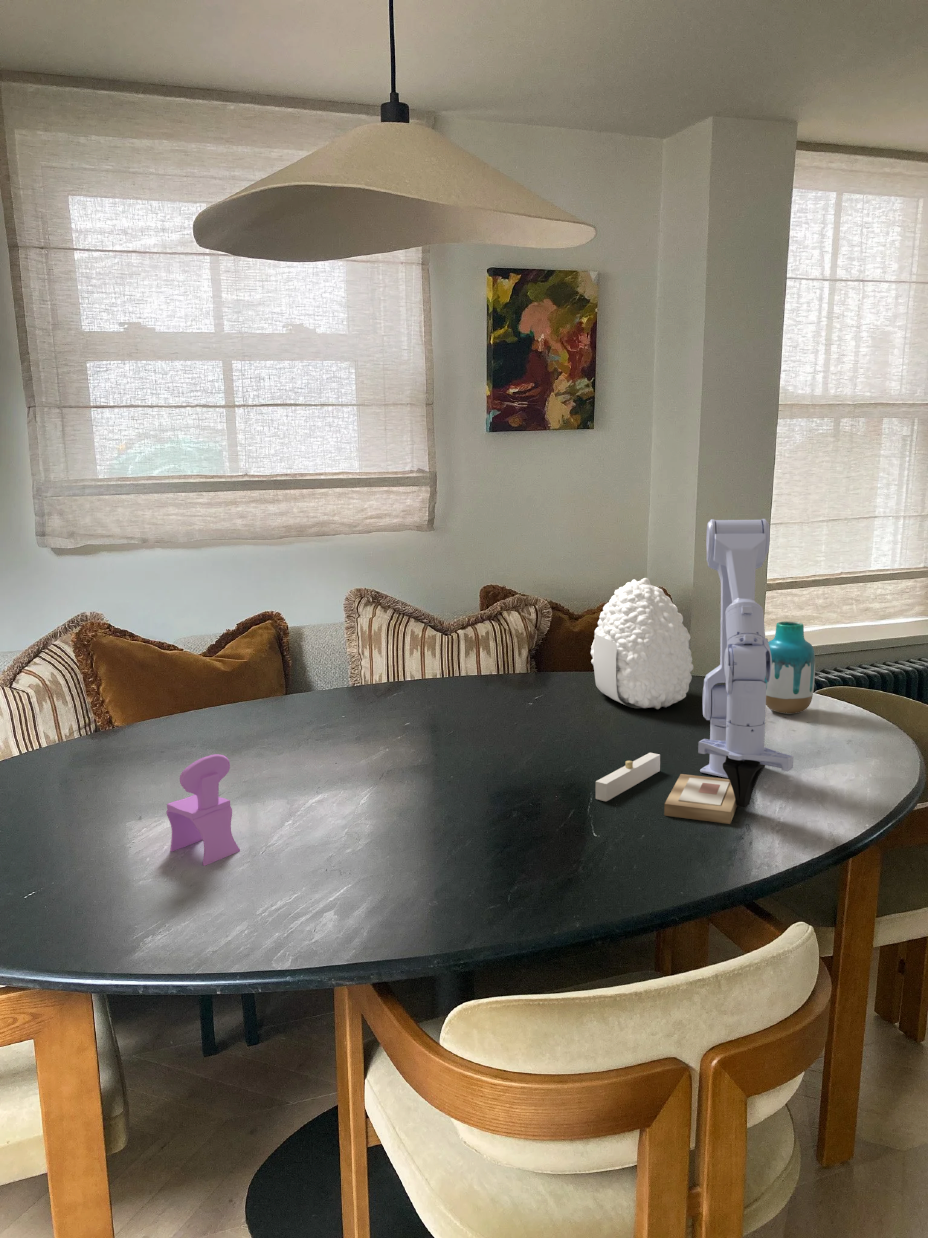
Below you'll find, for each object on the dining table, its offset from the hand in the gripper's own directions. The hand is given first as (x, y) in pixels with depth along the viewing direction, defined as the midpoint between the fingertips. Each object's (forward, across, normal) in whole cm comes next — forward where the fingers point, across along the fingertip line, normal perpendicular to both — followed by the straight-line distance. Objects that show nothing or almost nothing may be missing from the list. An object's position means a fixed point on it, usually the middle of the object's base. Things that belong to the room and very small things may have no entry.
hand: (742, 805), depth 147 cm
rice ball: (+1, -45, +48) cm, 66 cm away
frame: (+2, -6, 0) cm, 7 cm away
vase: (+1, -15, +57) cm, 59 cm away
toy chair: (+1, -56, -60) cm, 82 cm away
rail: (+1, -20, 0) cm, 20 cm away
